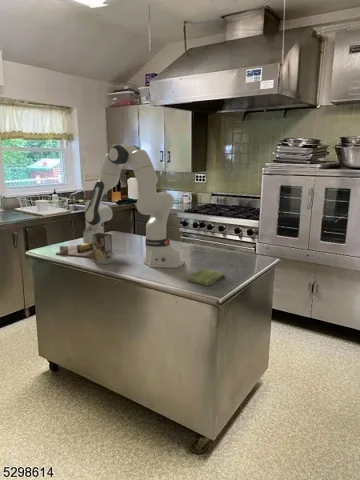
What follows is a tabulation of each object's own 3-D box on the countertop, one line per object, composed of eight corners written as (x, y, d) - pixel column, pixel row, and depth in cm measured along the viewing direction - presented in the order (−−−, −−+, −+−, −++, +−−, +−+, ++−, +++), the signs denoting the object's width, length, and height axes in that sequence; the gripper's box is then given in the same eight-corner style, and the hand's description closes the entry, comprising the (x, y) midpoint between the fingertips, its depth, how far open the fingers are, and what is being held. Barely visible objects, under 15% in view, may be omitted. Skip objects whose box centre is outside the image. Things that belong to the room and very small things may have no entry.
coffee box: (113, 261, 202) (112, 234, 198) (106, 264, 197) (104, 236, 193) (100, 259, 206) (99, 232, 202) (93, 262, 201) (91, 234, 197)
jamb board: (105, 250, 226) (105, 242, 224) (91, 258, 209) (91, 249, 208) (72, 247, 232) (71, 239, 231) (55, 254, 215) (55, 246, 214)
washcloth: (225, 277, 180) (225, 271, 179) (209, 287, 166) (209, 281, 165) (202, 272, 187) (203, 266, 186) (185, 282, 172) (185, 275, 172)
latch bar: (80, 252, 216) (79, 245, 215) (76, 251, 218) (76, 245, 217) (96, 247, 228) (96, 240, 227) (93, 246, 230) (93, 240, 229)
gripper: (89, 229, 211) (90, 251, 214) (105, 222, 230) (106, 243, 233) (79, 228, 212) (81, 250, 216) (96, 222, 232) (97, 243, 235)
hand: (94, 247), depth 225 cm, fingers closed
